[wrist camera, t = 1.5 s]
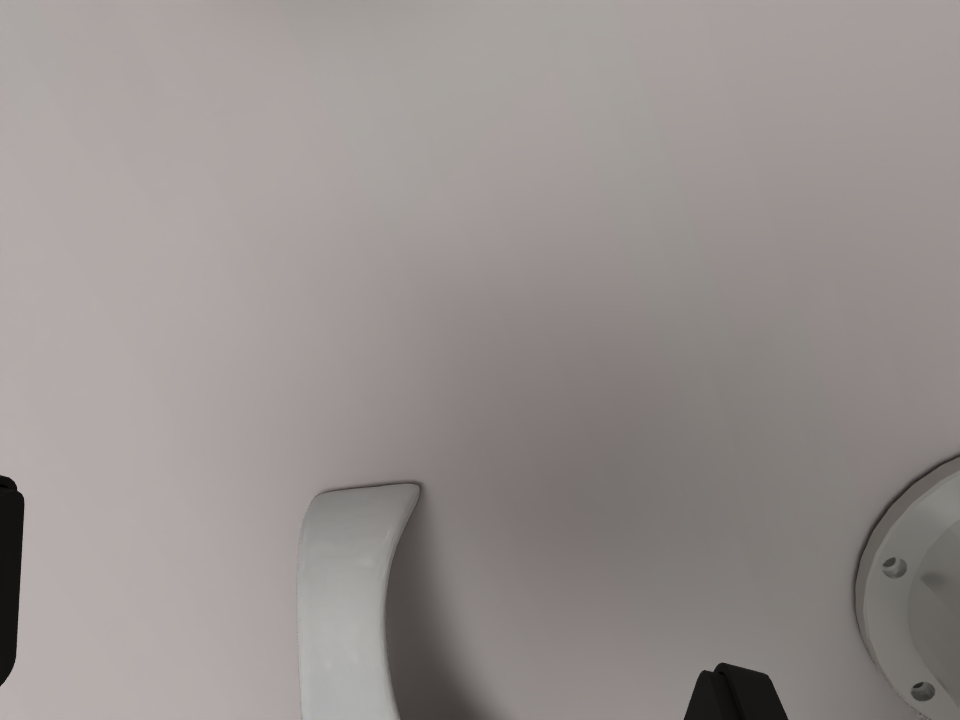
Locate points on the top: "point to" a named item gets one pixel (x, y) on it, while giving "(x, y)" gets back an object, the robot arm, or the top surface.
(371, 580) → the spoon rest
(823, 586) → the top surface
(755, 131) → the top surface
